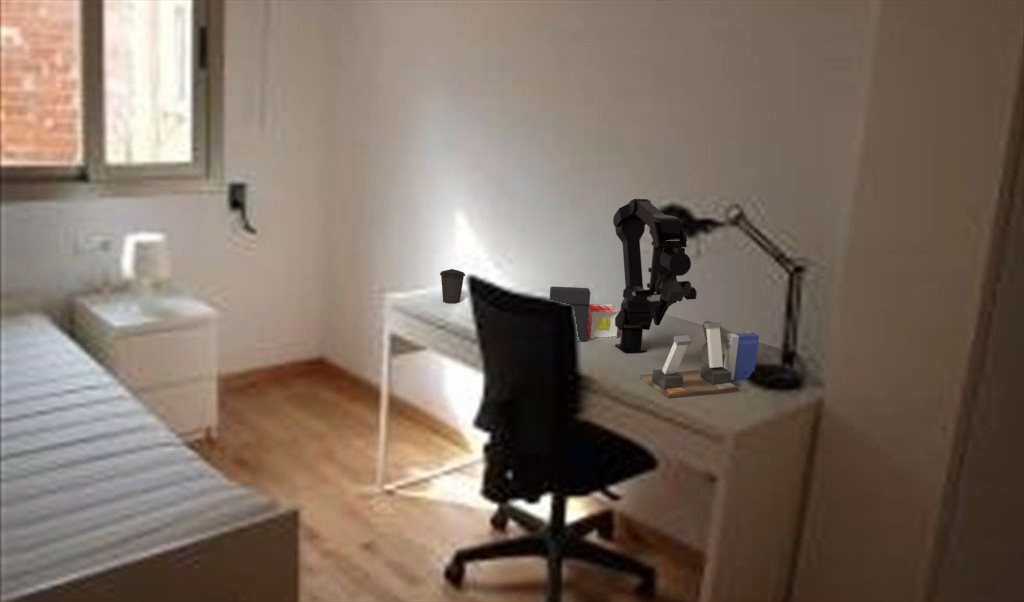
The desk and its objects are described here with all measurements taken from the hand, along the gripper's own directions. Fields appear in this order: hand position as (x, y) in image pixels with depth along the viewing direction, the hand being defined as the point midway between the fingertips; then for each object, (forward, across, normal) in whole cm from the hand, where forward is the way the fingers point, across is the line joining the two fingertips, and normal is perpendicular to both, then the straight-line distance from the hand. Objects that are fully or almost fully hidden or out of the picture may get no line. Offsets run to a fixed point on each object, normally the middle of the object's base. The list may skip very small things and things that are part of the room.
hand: (657, 324), depth 246 cm
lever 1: (+8, -4, -14) cm, 17 cm away
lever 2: (+8, +10, -14) cm, 19 cm away
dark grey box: (+12, -12, +28) cm, 33 cm away
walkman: (+12, +19, -11) cm, 25 cm away
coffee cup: (+12, -32, +72) cm, 80 cm away
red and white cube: (+12, 0, +31) cm, 33 cm away
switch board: (+12, +3, -13) cm, 18 cm away
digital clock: (+12, +21, -2) cm, 24 cm away
